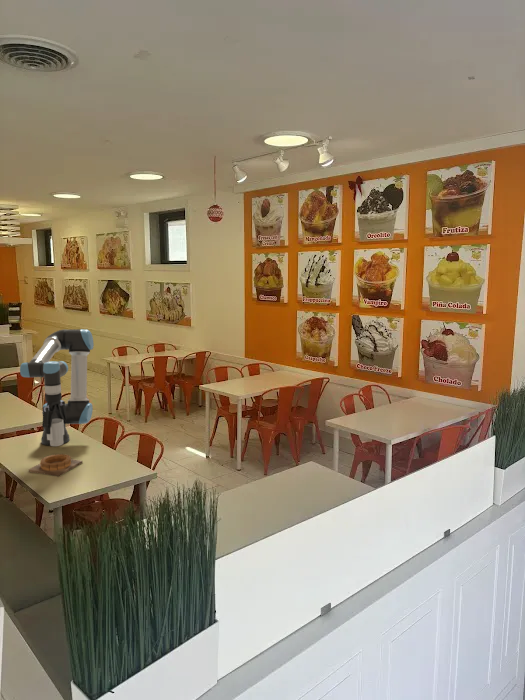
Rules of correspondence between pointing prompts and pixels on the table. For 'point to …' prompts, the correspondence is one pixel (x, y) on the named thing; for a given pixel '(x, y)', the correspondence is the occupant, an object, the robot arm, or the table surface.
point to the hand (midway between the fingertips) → (55, 437)
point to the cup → (57, 432)
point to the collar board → (57, 472)
